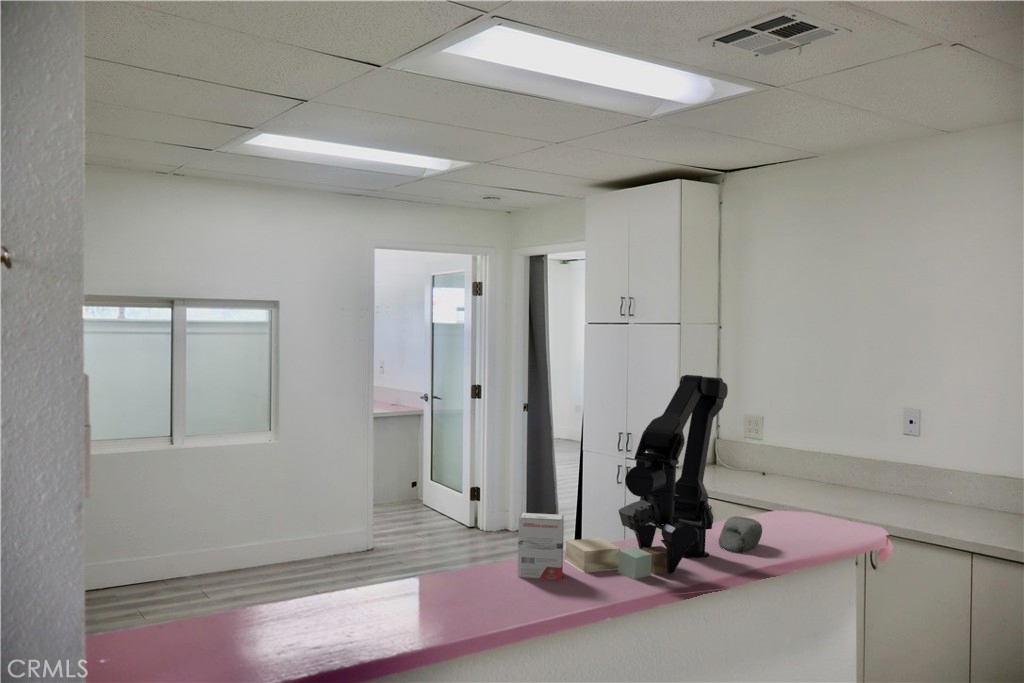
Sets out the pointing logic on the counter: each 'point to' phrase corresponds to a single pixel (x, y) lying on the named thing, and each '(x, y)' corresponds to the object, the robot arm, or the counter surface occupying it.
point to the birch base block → (592, 554)
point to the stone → (740, 534)
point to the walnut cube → (658, 559)
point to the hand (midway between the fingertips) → (657, 566)
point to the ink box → (540, 546)
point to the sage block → (634, 563)
